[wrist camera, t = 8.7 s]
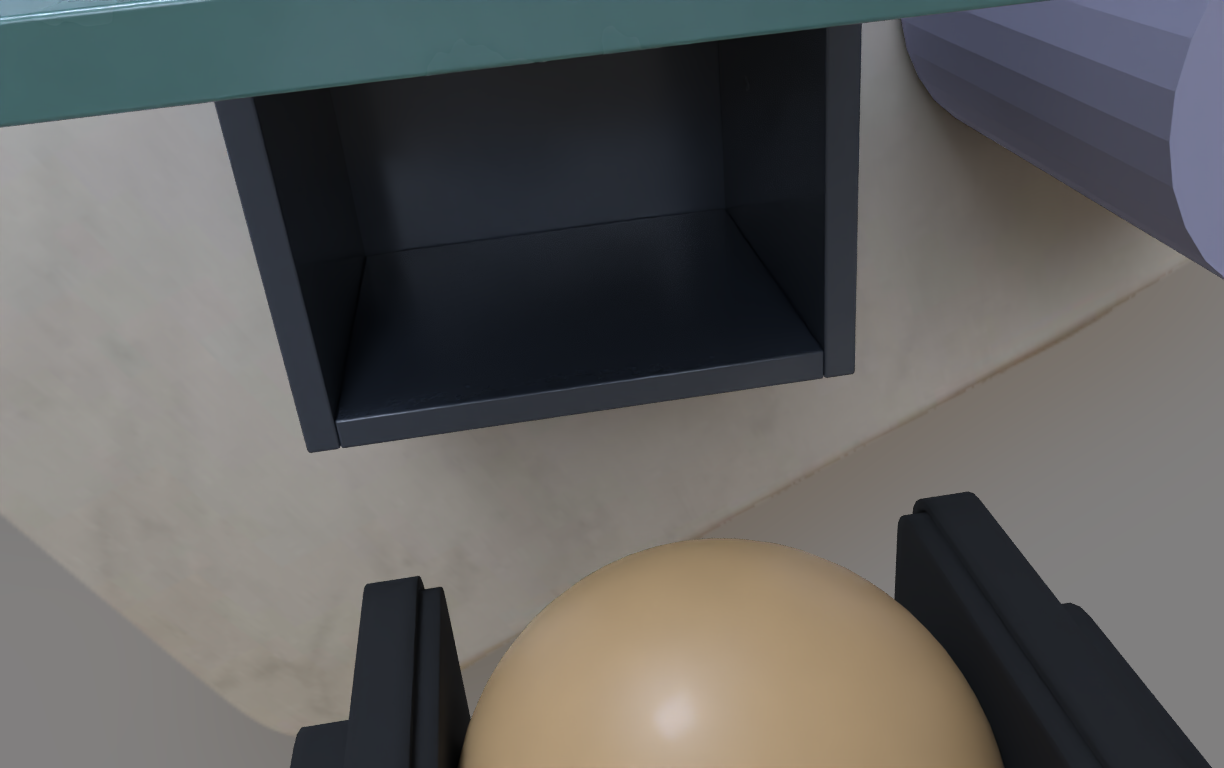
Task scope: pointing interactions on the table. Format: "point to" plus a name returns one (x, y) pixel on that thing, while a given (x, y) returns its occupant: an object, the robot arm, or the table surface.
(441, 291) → the bin
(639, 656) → the light brown ball
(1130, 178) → the light purple upright cylinder
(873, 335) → the table surface
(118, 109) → the lid
